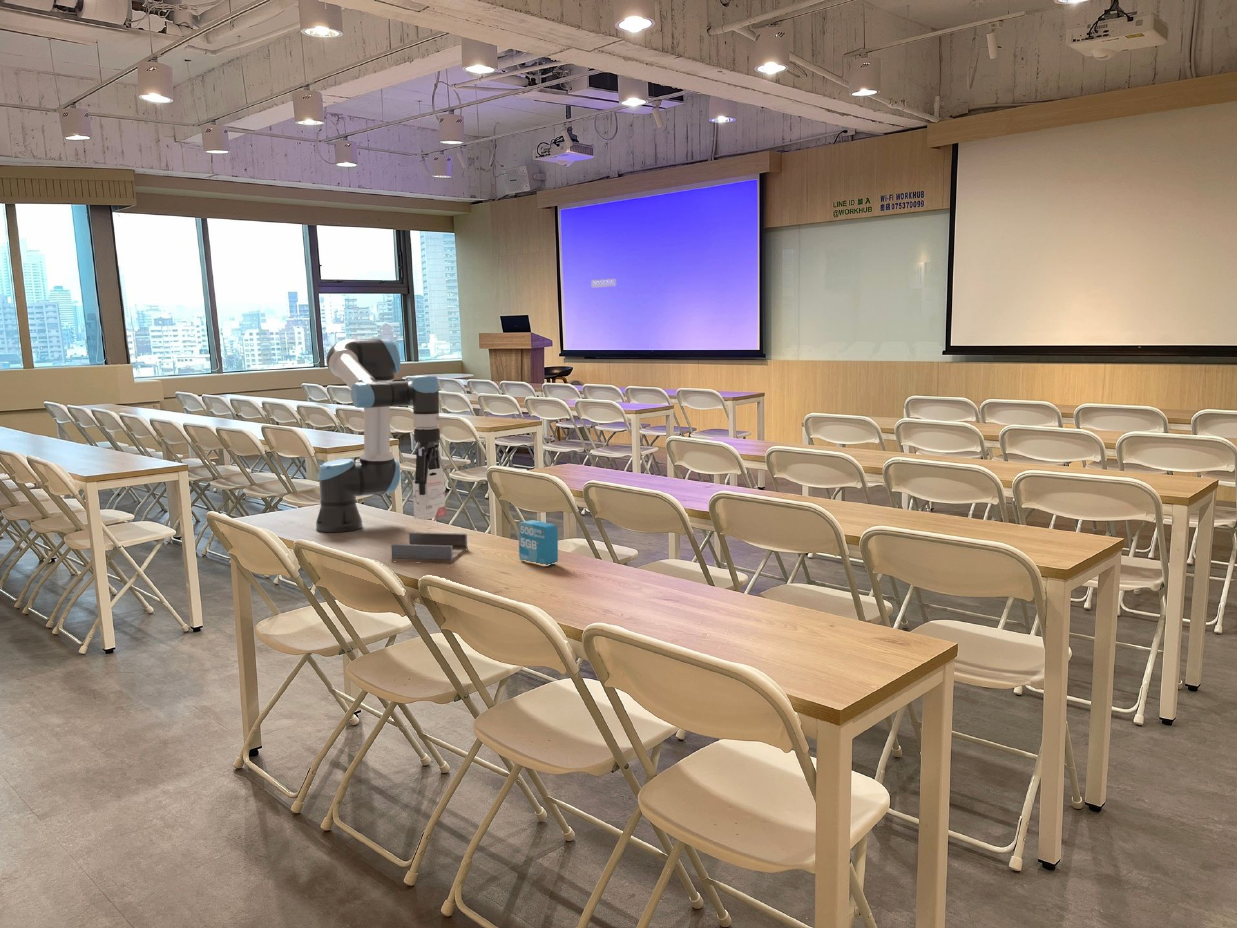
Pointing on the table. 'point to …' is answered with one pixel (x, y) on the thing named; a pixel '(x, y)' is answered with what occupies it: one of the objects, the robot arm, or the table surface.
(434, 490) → the ink cartridge box
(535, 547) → the data package
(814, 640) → the table surface
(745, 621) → the table surface
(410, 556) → the track board
